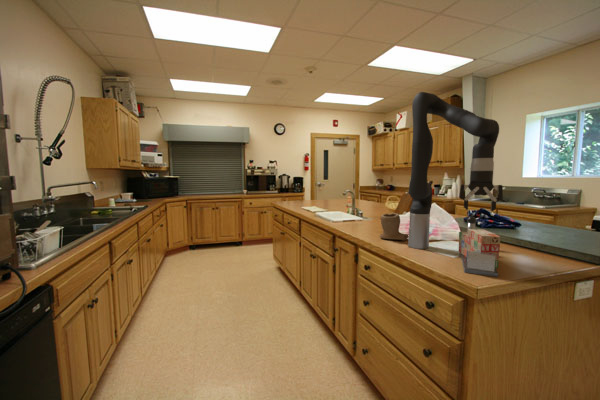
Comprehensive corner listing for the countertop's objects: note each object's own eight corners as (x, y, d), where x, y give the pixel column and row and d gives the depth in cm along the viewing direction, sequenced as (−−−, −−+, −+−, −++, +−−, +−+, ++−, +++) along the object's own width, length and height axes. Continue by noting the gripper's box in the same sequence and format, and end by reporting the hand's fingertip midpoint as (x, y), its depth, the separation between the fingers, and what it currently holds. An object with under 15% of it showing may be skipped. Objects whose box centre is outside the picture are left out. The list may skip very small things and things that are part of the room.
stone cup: (376, 240, 146) (377, 213, 145) (381, 235, 156) (382, 211, 155) (405, 243, 138) (406, 215, 137) (408, 239, 149) (409, 213, 147)
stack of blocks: (457, 251, 118) (459, 224, 117) (473, 252, 117) (474, 225, 116) (479, 267, 98) (481, 235, 96) (498, 268, 96) (500, 235, 95)
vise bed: (464, 272, 96) (465, 252, 96) (459, 249, 127) (460, 234, 127) (497, 277, 92) (499, 256, 91) (484, 251, 123) (485, 236, 122)
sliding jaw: (462, 248, 122) (464, 219, 121) (460, 241, 135) (462, 215, 134) (483, 250, 118) (485, 221, 117) (479, 243, 131) (481, 216, 130)
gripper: (461, 170, 104) (459, 210, 105) (506, 169, 97) (503, 212, 98) (460, 170, 110) (458, 208, 112) (502, 170, 103) (499, 210, 105)
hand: (479, 210), depth 105 cm, fingers open, 8 cm apart
